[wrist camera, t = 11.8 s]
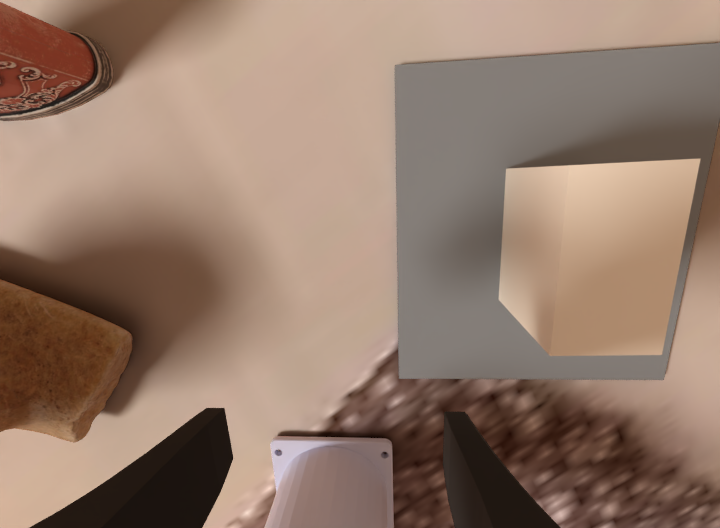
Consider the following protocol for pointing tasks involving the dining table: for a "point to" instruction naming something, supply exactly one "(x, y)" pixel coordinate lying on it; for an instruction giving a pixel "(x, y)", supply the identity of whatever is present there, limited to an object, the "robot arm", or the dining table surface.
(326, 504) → the robot arm
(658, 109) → the slate mat
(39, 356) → the brown bookend
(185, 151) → the dining table surface
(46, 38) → the red patterned tin
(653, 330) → the cream block
